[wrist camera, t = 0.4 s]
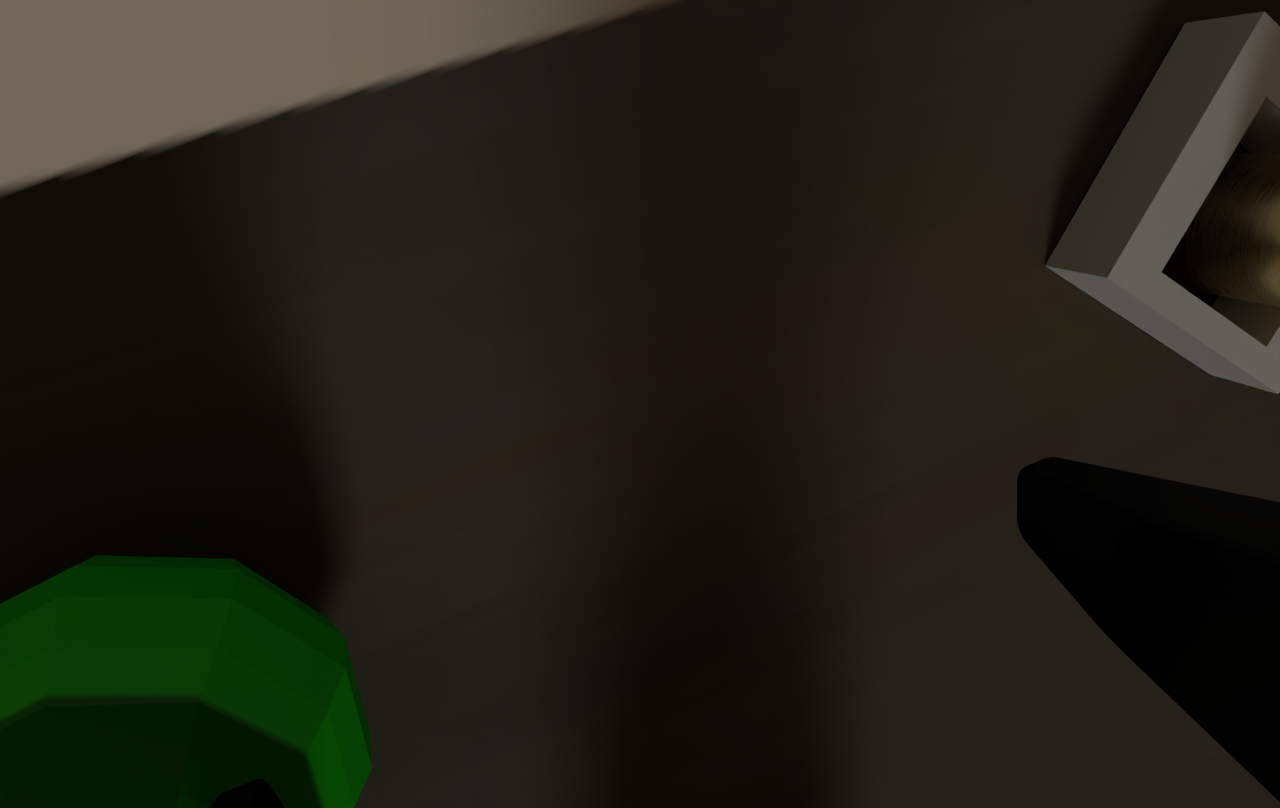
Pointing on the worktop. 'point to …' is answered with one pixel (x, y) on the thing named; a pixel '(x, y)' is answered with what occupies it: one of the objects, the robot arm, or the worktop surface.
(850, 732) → the worktop surface
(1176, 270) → the gold cylinder
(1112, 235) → the frame
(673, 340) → the worktop surface
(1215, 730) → the robot arm
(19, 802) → the plastic bottle
